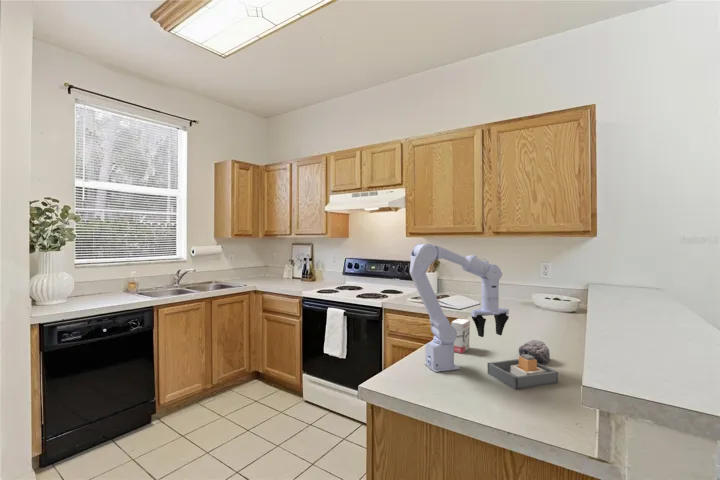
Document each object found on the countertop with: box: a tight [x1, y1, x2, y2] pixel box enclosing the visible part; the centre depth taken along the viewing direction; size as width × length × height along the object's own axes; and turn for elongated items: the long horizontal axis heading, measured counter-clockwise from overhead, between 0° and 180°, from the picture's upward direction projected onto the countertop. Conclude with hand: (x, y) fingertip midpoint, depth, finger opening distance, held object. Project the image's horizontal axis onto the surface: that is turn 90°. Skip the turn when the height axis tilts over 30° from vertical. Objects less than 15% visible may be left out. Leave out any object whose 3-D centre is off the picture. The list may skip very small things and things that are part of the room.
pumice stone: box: [518, 339, 551, 365], centre depth 125 cm, size 10×8×10 cm
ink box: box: [450, 318, 471, 354], centre depth 137 cm, size 9×5×12 cm, turn 143°
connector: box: [518, 354, 537, 372], centre depth 110 cm, size 4×4×6 cm
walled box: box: [487, 358, 559, 391], centre depth 109 cm, size 16×13×4 cm
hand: (490, 335), depth 121 cm, fingers open, 7 cm apart
